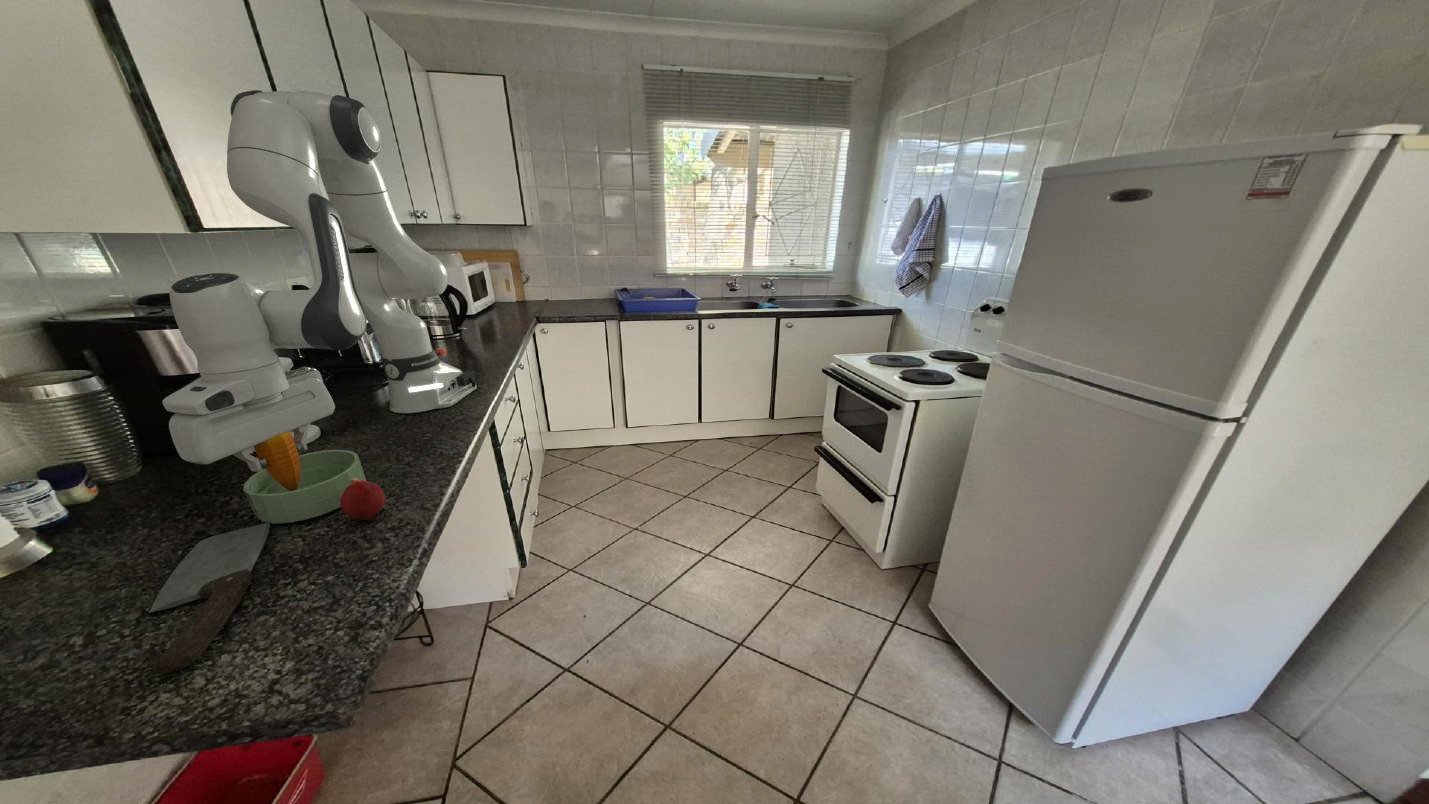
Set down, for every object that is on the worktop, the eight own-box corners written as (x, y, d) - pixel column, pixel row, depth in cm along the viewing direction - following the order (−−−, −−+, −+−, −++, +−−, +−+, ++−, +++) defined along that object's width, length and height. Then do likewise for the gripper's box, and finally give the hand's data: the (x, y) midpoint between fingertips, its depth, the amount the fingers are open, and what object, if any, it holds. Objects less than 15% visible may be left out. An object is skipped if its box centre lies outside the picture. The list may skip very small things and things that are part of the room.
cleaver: (224, 657, 51) (217, 644, 50) (93, 704, 46) (82, 690, 45) (276, 524, 74) (271, 513, 73) (191, 546, 69) (185, 535, 68)
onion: (386, 504, 79) (373, 465, 76) (393, 519, 75) (380, 478, 72) (345, 518, 75) (330, 477, 72) (350, 534, 71) (335, 492, 68)
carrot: (290, 501, 74) (255, 419, 69) (266, 497, 75) (230, 416, 70) (320, 484, 79) (289, 407, 73) (297, 481, 80) (265, 404, 74)
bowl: (323, 472, 88) (313, 446, 86) (388, 481, 86) (379, 454, 83) (233, 519, 75) (218, 489, 72) (306, 532, 72) (293, 501, 70)
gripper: (301, 362, 79) (326, 431, 85) (145, 405, 61) (190, 491, 66) (330, 364, 78) (354, 434, 84) (180, 409, 60) (223, 496, 65)
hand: (280, 460), depth 75 cm, fingers closed on carrot, 5 cm apart
